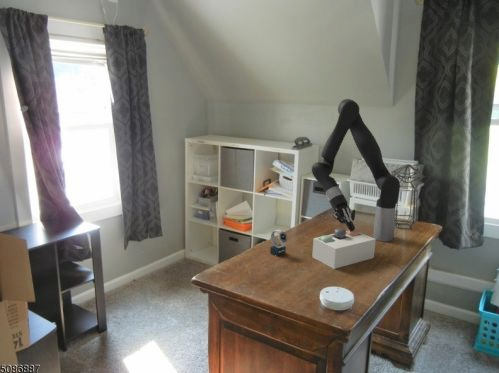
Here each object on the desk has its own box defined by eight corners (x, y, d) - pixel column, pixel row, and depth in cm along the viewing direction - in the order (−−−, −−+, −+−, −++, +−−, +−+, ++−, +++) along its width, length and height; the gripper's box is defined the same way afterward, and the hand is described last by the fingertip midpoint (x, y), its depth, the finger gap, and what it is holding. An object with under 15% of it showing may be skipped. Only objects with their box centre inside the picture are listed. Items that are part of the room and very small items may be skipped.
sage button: (326, 243, 186) (327, 234, 185) (334, 246, 182) (334, 238, 181) (317, 245, 183) (318, 236, 182) (325, 248, 179) (326, 240, 178)
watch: (280, 257, 184) (281, 234, 181) (267, 252, 190) (268, 229, 187) (288, 254, 188) (289, 231, 185) (275, 249, 193) (276, 226, 191)
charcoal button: (339, 235, 190) (340, 227, 189) (347, 239, 185) (348, 231, 184) (331, 237, 187) (332, 229, 186) (339, 241, 183) (340, 232, 182)
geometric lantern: (389, 229, 224) (394, 165, 217) (386, 221, 239) (391, 161, 232) (420, 231, 221) (426, 167, 214) (415, 223, 236) (421, 162, 229)
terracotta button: (352, 236, 194) (352, 228, 193) (360, 240, 190) (360, 232, 189) (344, 238, 192) (345, 230, 191) (352, 242, 187) (352, 233, 186)
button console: (351, 247, 198) (352, 229, 195) (373, 257, 186) (375, 239, 184) (312, 257, 185) (313, 238, 183) (333, 268, 174) (335, 248, 172)
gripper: (330, 195, 191) (347, 228, 183) (350, 192, 198) (367, 224, 190) (321, 203, 196) (337, 236, 189) (342, 200, 203) (358, 231, 196)
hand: (352, 230), depth 190 cm, fingers closed
